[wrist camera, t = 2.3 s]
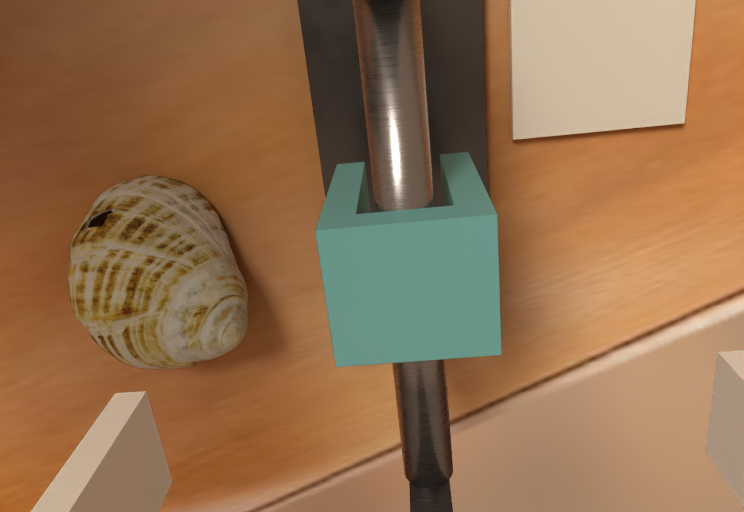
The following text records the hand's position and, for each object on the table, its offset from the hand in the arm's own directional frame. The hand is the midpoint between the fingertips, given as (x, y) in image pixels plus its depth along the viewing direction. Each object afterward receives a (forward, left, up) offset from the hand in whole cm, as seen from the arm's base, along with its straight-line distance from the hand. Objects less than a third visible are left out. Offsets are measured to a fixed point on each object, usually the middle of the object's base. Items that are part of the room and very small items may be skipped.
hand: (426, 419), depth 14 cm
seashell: (+4, -14, -23) cm, 27 cm away
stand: (0, 0, -22) cm, 22 cm away
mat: (-6, +10, -22) cm, 25 cm away
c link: (0, 0, -14) cm, 14 cm away
